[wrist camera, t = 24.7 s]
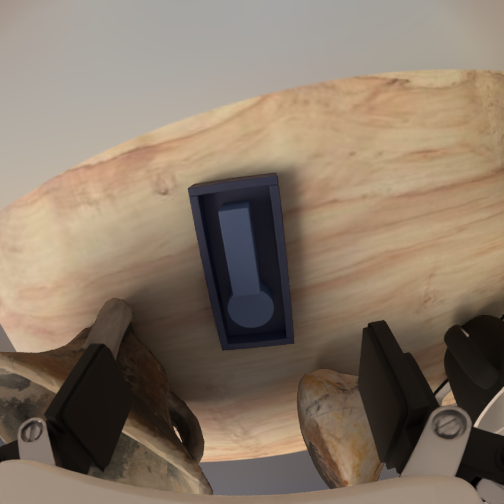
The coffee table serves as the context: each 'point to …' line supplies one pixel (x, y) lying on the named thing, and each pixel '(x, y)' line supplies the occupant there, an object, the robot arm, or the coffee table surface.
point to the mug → (476, 371)
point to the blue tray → (268, 252)
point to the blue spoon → (244, 267)
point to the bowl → (140, 416)
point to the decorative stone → (337, 429)
